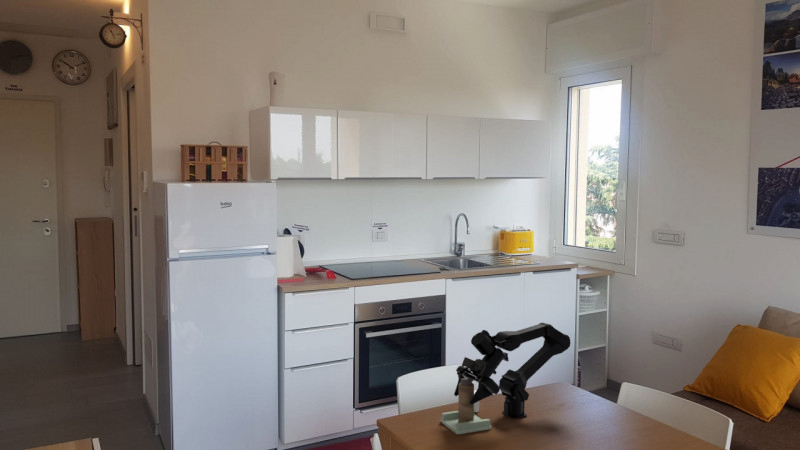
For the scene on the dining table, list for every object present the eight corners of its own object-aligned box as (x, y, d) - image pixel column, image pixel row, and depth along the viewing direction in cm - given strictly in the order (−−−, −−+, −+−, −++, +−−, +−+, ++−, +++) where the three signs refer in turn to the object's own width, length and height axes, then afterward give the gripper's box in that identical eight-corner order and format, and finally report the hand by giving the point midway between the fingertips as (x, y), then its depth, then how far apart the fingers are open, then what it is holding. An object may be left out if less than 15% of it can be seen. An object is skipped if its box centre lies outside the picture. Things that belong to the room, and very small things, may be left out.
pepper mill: (465, 418, 211) (465, 376, 210) (476, 422, 207) (477, 379, 207) (455, 421, 208) (455, 379, 207) (466, 426, 204) (466, 382, 203)
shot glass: (479, 414, 218) (480, 394, 218) (460, 412, 219) (460, 393, 219) (481, 407, 225) (481, 388, 224) (462, 406, 226) (462, 387, 226)
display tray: (473, 416, 216) (473, 408, 215) (491, 428, 205) (491, 419, 204) (440, 421, 210) (440, 413, 210) (457, 434, 199) (457, 425, 199)
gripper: (460, 342, 216) (433, 377, 211) (493, 355, 200) (464, 393, 195) (478, 361, 220) (452, 396, 216) (511, 375, 204) (484, 413, 199)
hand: (462, 399), depth 206 cm, fingers open, 9 cm apart
